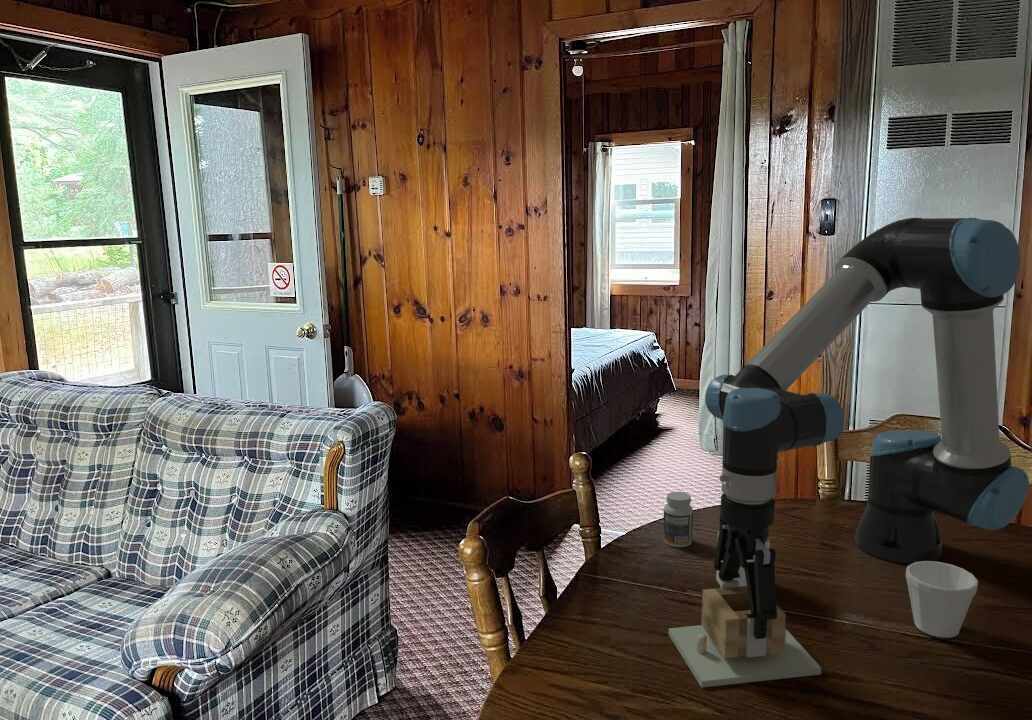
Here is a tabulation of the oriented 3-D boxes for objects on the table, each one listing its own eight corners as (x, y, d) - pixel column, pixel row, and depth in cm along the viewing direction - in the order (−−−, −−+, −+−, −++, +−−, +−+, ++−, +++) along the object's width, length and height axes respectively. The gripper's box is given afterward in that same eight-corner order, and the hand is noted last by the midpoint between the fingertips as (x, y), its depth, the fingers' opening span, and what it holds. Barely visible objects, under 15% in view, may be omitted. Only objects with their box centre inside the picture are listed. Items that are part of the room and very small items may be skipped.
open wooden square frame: (701, 625, 121) (702, 589, 120) (756, 620, 122) (758, 584, 121) (724, 658, 112) (726, 620, 111) (783, 652, 114) (785, 614, 113)
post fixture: (775, 623, 126) (777, 589, 125) (821, 674, 112) (823, 636, 111) (668, 634, 124) (669, 599, 122) (701, 687, 110) (702, 649, 109)
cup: (887, 621, 126) (891, 568, 124) (931, 607, 130) (936, 555, 128) (942, 652, 117) (947, 596, 115) (987, 637, 121) (993, 582, 119)
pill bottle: (670, 534, 160) (671, 488, 158) (696, 540, 157) (698, 494, 155) (658, 544, 156) (659, 497, 154) (685, 551, 153) (686, 503, 151)
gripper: (695, 472, 123) (691, 603, 127) (756, 527, 102) (749, 682, 106) (740, 469, 124) (735, 599, 129) (810, 523, 103) (800, 676, 107)
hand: (741, 636), depth 117 cm, fingers closed on open wooden square frame, 9 cm apart
